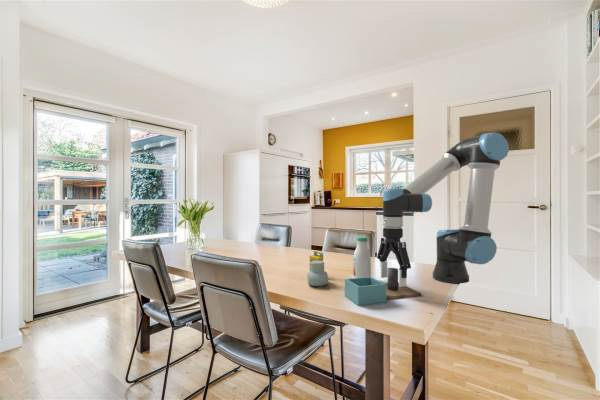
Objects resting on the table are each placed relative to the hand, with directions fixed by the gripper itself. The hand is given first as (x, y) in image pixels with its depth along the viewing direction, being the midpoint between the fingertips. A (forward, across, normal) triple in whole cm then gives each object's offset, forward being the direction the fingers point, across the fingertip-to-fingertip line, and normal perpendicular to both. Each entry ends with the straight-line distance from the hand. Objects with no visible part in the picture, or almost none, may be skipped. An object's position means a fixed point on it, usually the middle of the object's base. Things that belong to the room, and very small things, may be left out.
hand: (392, 281), depth 119 cm
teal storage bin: (+4, +5, -15) cm, 16 cm away
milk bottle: (+5, -18, -4) cm, 19 cm away
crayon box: (+5, -32, -21) cm, 39 cm away
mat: (+4, 0, 0) cm, 4 cm away
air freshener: (+5, -19, -25) cm, 32 cm away
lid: (+4, 0, 0) cm, 4 cm away
